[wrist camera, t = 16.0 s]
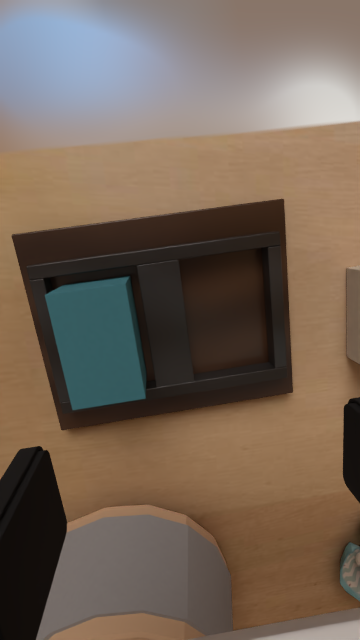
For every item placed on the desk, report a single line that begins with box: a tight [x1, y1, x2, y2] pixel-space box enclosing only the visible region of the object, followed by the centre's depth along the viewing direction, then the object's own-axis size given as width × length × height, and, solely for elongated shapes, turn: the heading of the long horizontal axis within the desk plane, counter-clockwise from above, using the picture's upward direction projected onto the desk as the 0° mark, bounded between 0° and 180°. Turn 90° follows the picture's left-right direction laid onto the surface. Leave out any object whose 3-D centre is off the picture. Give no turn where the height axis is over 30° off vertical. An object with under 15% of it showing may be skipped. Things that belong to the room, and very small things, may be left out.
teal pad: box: [45, 275, 147, 410], centre depth 23 cm, size 8×5×4 cm, turn 8°
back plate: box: [12, 199, 293, 430], centre depth 25 cm, size 16×20×3 cm
